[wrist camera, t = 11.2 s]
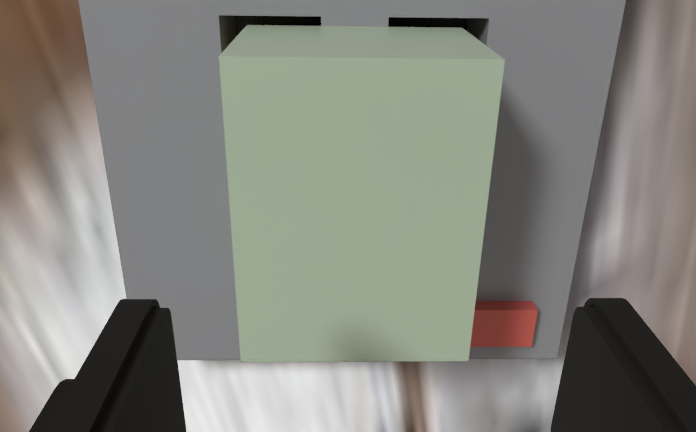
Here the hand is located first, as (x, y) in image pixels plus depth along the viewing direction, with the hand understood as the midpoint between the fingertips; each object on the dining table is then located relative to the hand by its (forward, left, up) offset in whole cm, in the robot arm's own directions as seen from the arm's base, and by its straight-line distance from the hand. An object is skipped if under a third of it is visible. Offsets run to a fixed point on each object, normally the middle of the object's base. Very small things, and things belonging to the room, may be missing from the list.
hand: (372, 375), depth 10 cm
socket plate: (0, 0, -14) cm, 14 cm away
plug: (0, 0, -13) cm, 13 cm away
